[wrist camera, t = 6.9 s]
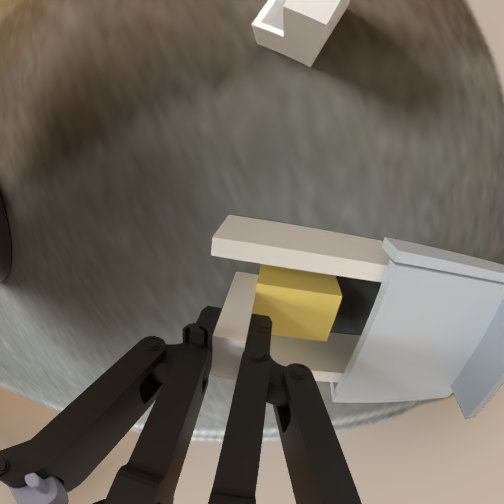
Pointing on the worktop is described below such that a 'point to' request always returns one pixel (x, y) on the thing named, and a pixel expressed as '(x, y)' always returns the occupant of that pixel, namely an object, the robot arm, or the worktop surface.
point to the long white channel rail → (308, 259)
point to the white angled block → (298, 26)
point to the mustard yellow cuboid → (297, 301)
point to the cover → (430, 331)
